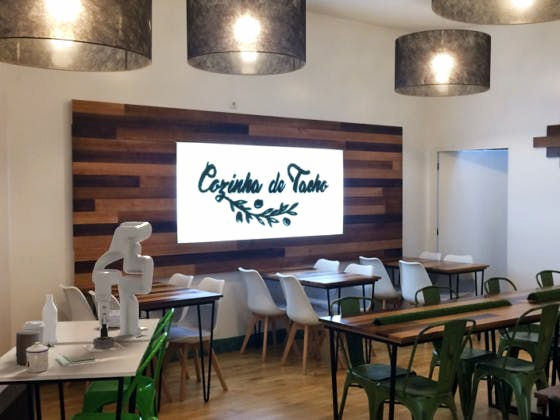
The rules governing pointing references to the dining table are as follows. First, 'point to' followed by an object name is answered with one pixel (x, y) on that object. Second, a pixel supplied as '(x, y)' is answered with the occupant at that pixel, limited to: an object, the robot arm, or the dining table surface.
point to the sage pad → (65, 361)
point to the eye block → (103, 345)
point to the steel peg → (100, 331)
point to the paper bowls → (114, 318)
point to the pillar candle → (25, 344)
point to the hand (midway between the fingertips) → (103, 335)
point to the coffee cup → (36, 328)
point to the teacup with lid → (37, 358)
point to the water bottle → (49, 321)
